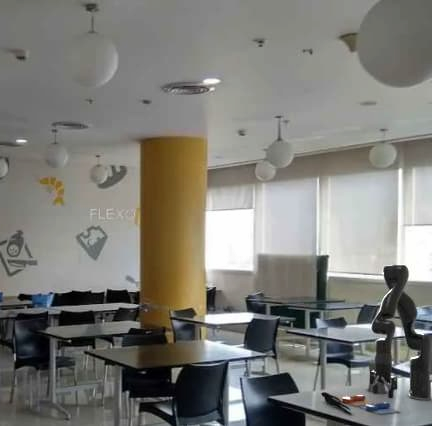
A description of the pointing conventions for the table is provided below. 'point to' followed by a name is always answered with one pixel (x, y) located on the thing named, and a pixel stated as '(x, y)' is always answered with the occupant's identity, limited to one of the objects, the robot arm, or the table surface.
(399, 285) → the robot arm
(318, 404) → the table surface
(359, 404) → the terracotta mat
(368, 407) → the blue spoon
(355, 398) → the terracotta spoon
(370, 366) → the coffeepot
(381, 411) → the blue mat
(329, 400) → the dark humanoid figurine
